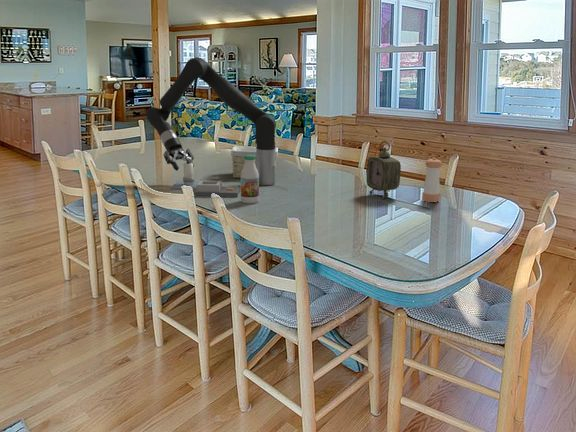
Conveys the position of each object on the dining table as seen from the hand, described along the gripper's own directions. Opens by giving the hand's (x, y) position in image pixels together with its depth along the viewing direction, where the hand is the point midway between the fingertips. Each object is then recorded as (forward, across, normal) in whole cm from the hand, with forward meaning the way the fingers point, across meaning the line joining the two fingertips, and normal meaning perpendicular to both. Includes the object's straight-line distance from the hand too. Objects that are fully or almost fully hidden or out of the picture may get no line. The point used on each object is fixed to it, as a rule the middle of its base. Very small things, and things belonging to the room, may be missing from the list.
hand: (185, 168), depth 259 cm
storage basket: (+8, +42, +4) cm, 43 cm away
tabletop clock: (+59, +54, -48) cm, 93 cm away
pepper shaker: (+72, +64, -61) cm, 114 cm away
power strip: (+22, +1, -10) cm, 24 cm away
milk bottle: (+37, +2, -25) cm, 45 cm away
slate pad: (+8, 0, +4) cm, 9 cm away
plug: (+7, 0, +4) cm, 8 cm away
